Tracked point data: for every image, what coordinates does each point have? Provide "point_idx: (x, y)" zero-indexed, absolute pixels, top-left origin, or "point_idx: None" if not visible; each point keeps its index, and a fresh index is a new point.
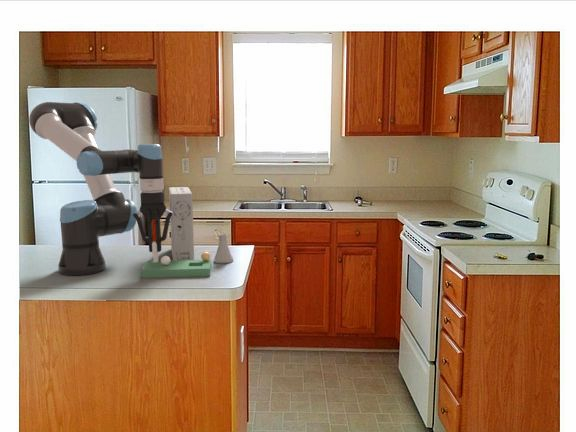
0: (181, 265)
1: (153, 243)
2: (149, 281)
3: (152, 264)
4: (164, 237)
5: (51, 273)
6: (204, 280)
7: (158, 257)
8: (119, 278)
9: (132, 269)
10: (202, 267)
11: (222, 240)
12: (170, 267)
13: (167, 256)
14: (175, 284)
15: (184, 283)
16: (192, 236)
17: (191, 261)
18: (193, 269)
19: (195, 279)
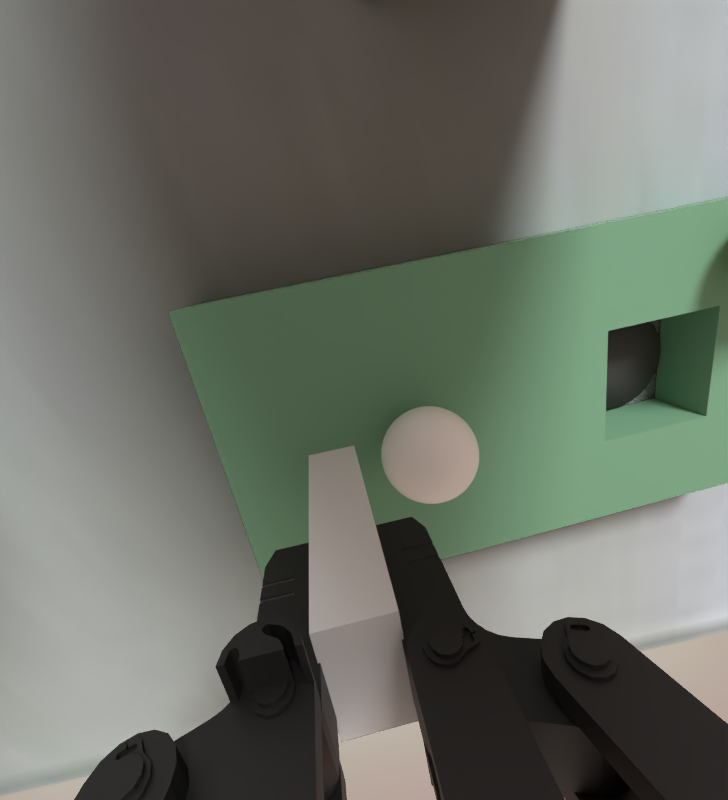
0: (550, 428)
1: (368, 730)
2: None
3: (285, 432)
4: (628, 796)
5: None
6: (662, 536)
7: (359, 466)
8: (120, 599)
9: (61, 361)
10: (705, 458)
11: None
12: (474, 497)
13: (467, 476)
14: (518, 624)
15: (562, 601)
16: None
17: (623, 280)
18: (641, 504)
19: (614, 528)
